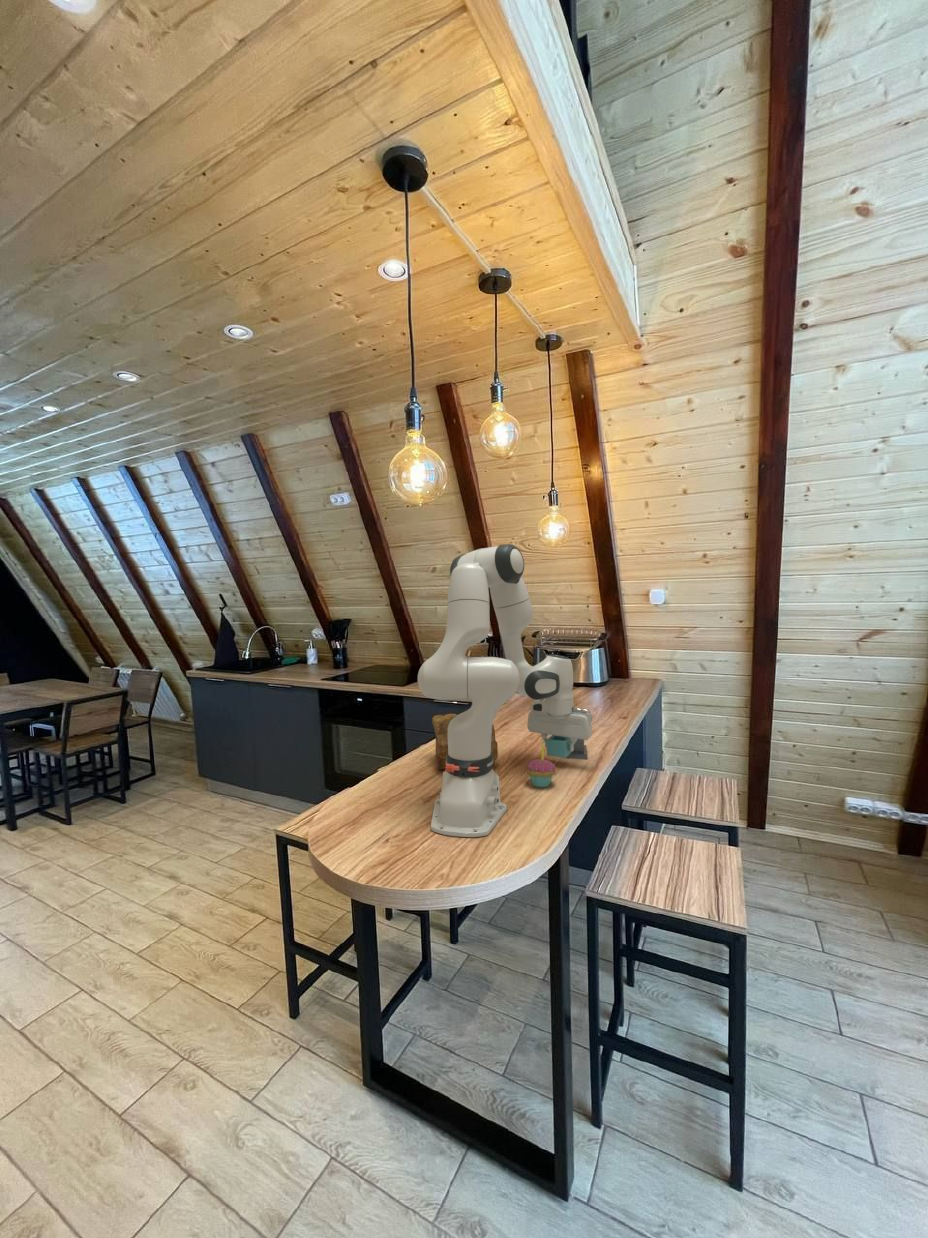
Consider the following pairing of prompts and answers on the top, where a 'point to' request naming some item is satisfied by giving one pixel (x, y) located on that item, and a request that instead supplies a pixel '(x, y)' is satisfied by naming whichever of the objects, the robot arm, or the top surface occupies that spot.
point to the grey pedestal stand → (578, 750)
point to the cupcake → (541, 771)
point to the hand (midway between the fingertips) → (559, 748)
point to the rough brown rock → (442, 739)
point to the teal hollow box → (558, 746)
